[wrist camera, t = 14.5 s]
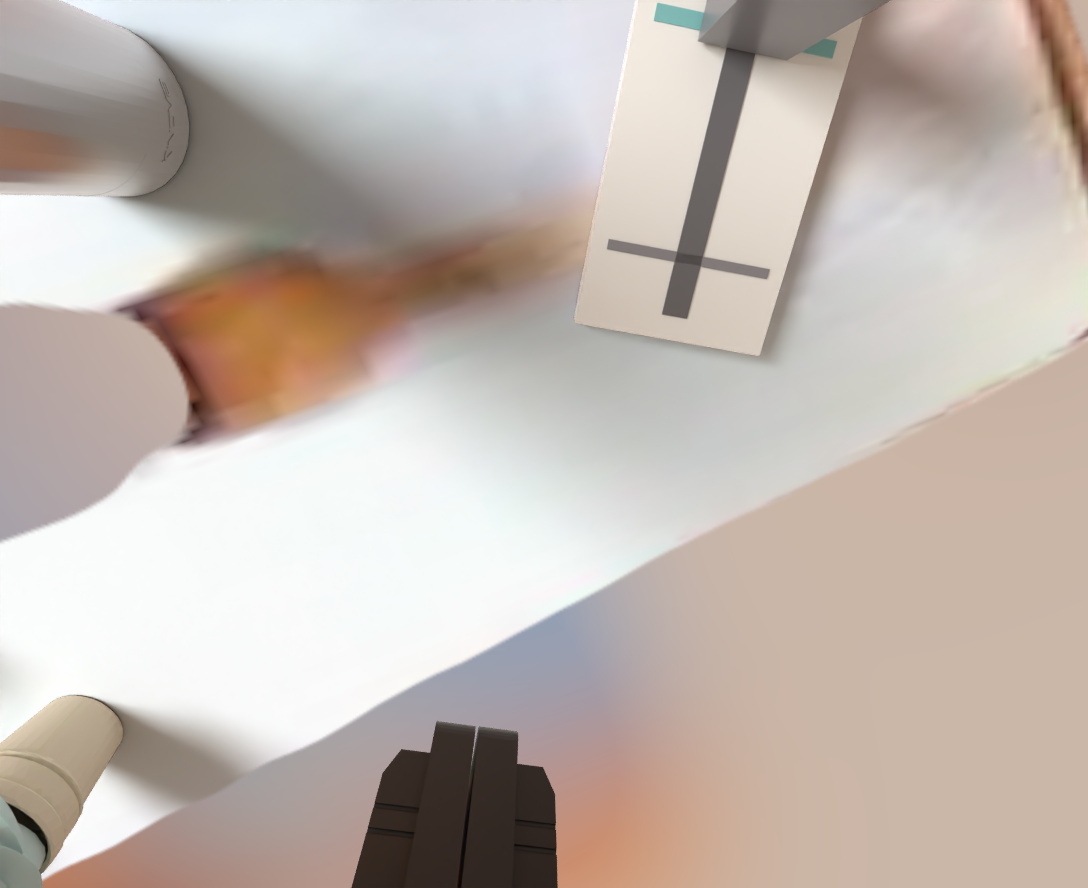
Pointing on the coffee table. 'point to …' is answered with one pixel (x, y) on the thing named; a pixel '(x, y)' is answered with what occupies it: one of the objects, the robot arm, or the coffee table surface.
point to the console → (704, 180)
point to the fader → (778, 23)
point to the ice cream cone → (50, 782)
